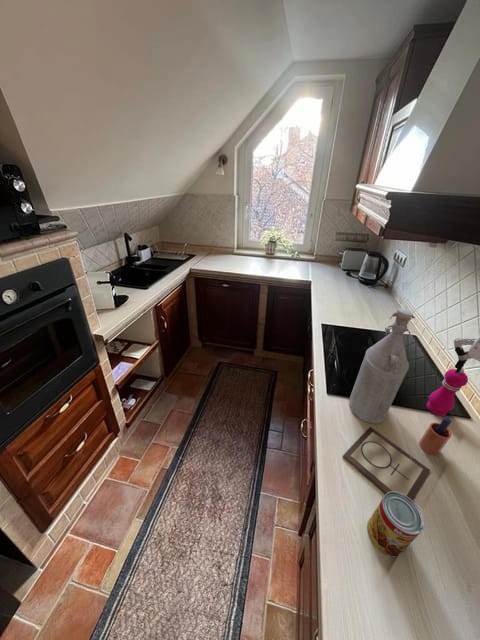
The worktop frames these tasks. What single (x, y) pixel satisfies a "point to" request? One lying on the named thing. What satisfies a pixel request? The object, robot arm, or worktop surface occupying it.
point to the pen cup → (434, 440)
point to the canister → (382, 372)
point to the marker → (443, 426)
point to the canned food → (395, 523)
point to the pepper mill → (446, 392)
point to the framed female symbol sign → (386, 464)
